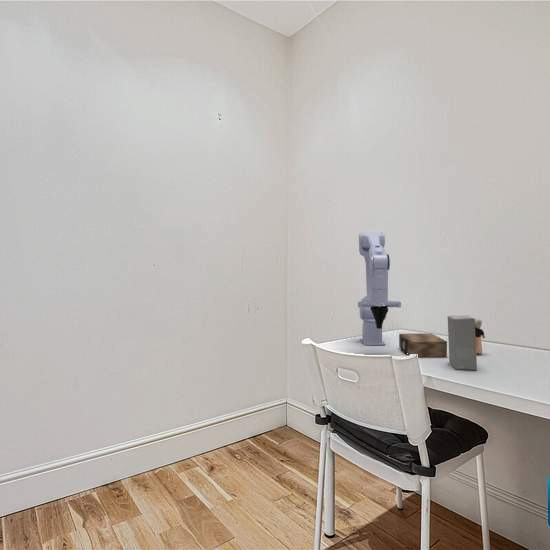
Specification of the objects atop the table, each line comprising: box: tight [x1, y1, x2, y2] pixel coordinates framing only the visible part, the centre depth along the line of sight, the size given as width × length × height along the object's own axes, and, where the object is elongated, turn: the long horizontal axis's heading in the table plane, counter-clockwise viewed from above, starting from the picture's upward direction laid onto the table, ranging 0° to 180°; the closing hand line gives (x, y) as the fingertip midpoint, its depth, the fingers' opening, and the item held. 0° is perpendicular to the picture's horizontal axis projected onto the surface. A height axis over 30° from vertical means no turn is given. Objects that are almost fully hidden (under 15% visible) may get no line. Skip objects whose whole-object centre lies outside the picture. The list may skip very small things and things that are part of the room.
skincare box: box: [447, 314, 478, 371], centre depth 128 cm, size 8×7×16 cm
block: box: [398, 332, 448, 359], centre depth 146 cm, size 13×14×5 cm
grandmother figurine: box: [475, 317, 486, 356], centre depth 143 cm, size 8×4×13 cm, turn 122°
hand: (379, 328), depth 143 cm, fingers closed
